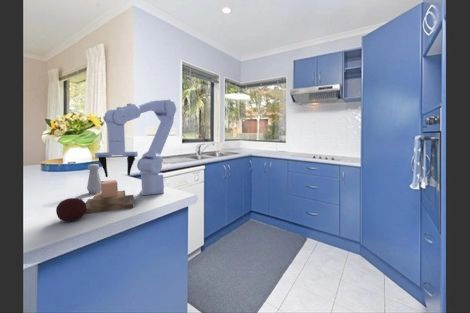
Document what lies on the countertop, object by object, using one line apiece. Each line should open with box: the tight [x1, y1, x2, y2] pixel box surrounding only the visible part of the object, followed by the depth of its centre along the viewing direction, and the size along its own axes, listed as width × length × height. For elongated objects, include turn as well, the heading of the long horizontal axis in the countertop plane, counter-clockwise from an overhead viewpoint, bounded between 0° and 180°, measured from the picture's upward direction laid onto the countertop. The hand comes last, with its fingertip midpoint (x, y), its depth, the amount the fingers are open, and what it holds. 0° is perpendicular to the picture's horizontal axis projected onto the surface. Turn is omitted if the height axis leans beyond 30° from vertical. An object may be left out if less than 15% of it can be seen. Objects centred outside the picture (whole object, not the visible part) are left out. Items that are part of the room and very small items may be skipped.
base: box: [84, 190, 135, 215], centre depth 84 cm, size 16×13×4 cm
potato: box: [55, 197, 86, 222], centre depth 69 cm, size 7×8×7 cm
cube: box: [100, 179, 119, 198], centre depth 83 cm, size 5×5×5 cm
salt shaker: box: [86, 163, 102, 195], centre depth 100 cm, size 6×6×13 cm
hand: (117, 175), depth 87 cm, fingers open, 7 cm apart
